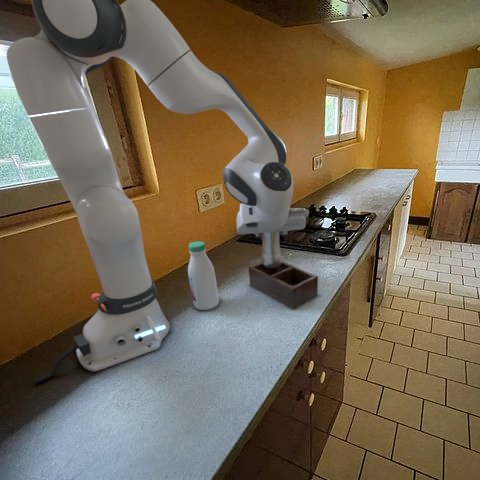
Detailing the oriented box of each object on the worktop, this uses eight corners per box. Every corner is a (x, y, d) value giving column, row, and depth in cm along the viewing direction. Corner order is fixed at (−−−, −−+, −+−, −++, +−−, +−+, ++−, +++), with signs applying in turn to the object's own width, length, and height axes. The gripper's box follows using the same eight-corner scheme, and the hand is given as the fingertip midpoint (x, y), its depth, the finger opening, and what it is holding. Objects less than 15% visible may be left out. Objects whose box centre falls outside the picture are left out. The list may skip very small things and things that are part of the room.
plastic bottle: (280, 270, 95) (278, 208, 86) (259, 269, 97) (255, 208, 87) (283, 262, 101) (282, 202, 92) (264, 261, 102) (260, 202, 93)
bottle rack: (293, 309, 89) (292, 289, 86) (250, 285, 103) (248, 267, 99) (317, 295, 95) (318, 276, 92) (273, 274, 109) (273, 257, 106)
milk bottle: (223, 298, 96) (215, 239, 86) (212, 312, 89) (202, 250, 80) (201, 296, 98) (191, 238, 88) (189, 309, 91) (176, 248, 82)
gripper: (308, 198, 83) (301, 222, 96) (234, 204, 81) (237, 227, 94) (312, 219, 81) (304, 240, 94) (235, 225, 79) (238, 245, 92)
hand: (270, 233), depth 94 cm, fingers closed on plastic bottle, 6 cm apart
